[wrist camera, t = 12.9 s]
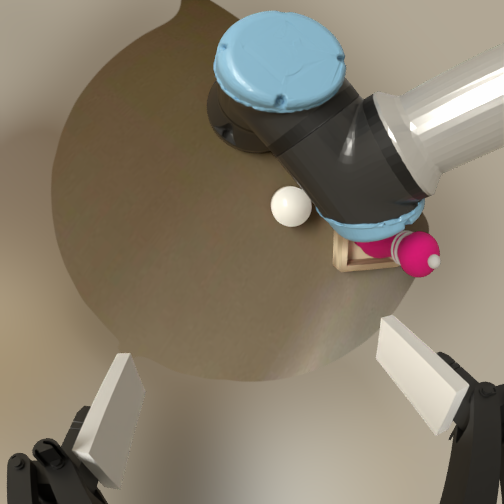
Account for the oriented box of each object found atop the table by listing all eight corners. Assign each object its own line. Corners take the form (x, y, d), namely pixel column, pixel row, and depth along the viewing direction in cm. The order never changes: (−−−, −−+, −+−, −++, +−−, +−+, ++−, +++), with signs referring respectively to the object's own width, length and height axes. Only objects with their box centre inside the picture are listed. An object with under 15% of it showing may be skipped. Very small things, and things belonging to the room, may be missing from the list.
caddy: (334, 197, 46) (343, 199, 42) (391, 198, 47) (403, 200, 43) (332, 265, 49) (341, 272, 45) (388, 260, 50) (399, 266, 46)
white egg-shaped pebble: (278, 227, 47) (280, 232, 43) (264, 193, 45) (265, 195, 41) (312, 214, 46) (317, 218, 42) (299, 180, 44) (303, 180, 41)
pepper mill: (372, 203, 46) (448, 221, 27) (388, 235, 48) (462, 268, 29) (341, 226, 47) (408, 258, 28) (359, 258, 49) (426, 303, 29)
